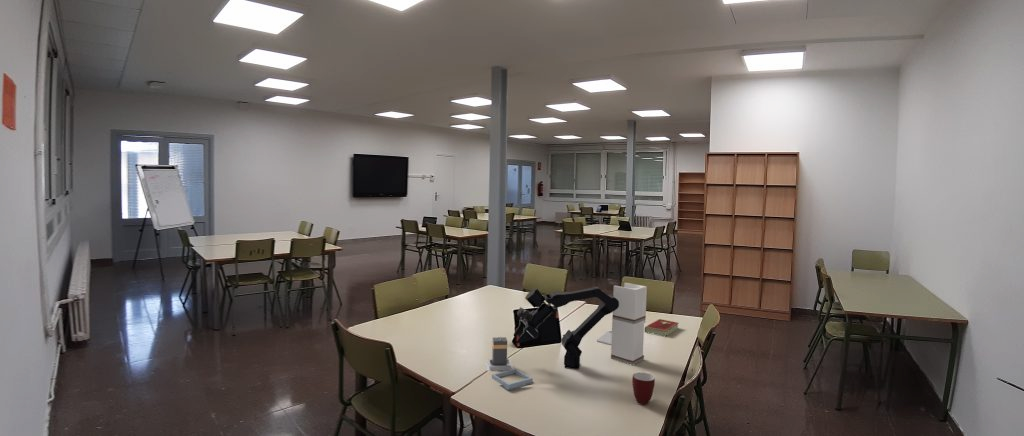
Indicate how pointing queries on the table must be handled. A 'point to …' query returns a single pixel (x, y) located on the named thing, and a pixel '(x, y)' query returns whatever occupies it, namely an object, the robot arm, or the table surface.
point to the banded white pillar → (629, 323)
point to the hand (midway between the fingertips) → (515, 339)
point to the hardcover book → (661, 327)
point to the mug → (643, 387)
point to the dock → (495, 368)
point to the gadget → (606, 338)
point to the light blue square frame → (515, 384)
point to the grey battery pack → (499, 351)
